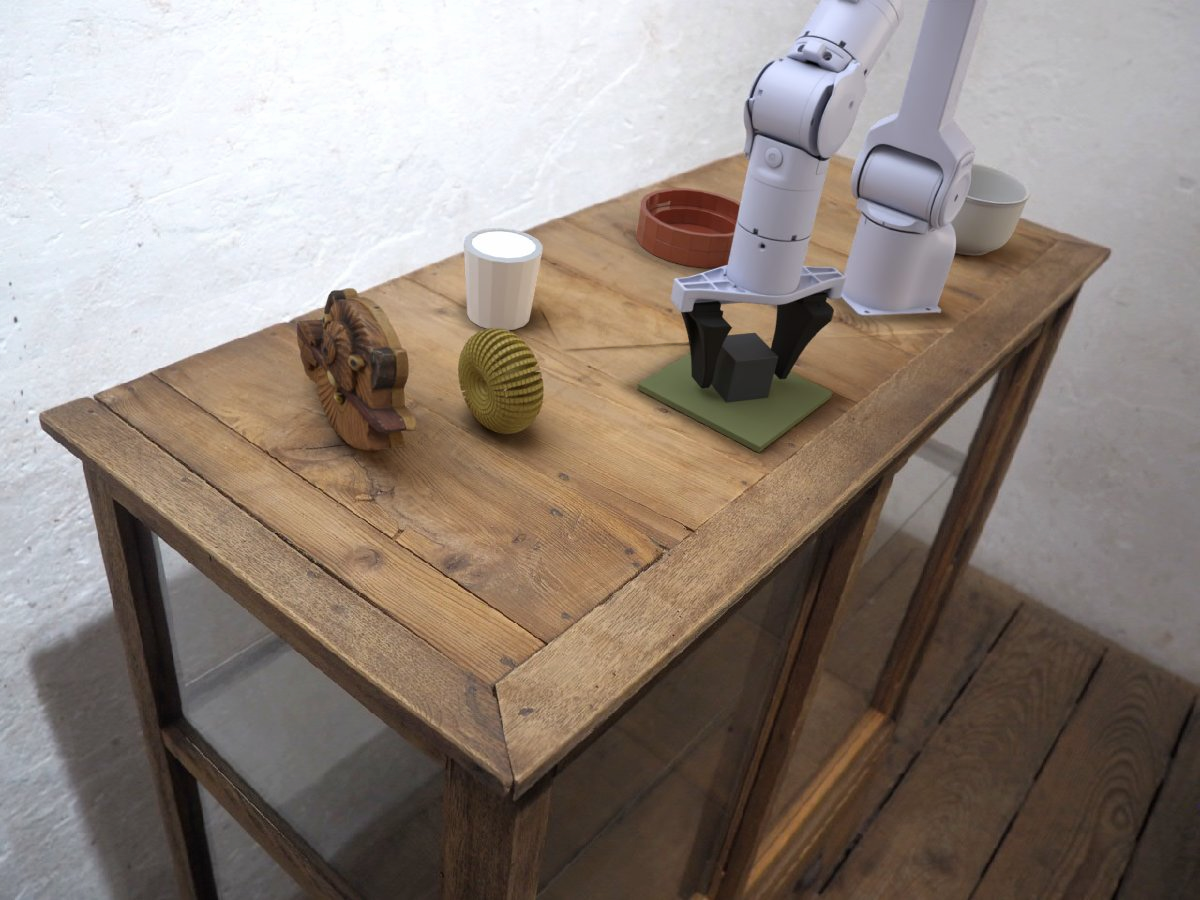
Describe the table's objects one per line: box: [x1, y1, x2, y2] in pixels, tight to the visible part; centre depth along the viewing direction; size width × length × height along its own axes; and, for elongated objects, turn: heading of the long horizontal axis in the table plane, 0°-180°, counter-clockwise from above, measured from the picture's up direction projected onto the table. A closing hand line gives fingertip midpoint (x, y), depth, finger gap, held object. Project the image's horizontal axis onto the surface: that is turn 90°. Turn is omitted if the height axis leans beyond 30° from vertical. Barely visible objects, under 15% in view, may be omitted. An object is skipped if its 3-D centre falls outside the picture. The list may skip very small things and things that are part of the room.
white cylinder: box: [463, 227, 544, 331], centre depth 93 cm, size 7×7×7 cm
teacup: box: [951, 161, 1031, 257], centre depth 119 cm, size 14×11×8 cm
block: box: [711, 332, 778, 402], centre depth 87 cm, size 4×4×4 cm
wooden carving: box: [296, 287, 417, 451], centre depth 75 cm, size 16×5×10 cm, turn 38°
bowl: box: [635, 187, 741, 269], centre depth 111 cm, size 12×12×4 cm
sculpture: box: [457, 328, 545, 435], centre depth 78 cm, size 8×4×8 cm, turn 40°
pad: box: [636, 352, 833, 453], centre depth 88 cm, size 12×12×1 cm
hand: (739, 377), depth 88 cm, fingers open, 7 cm apart
